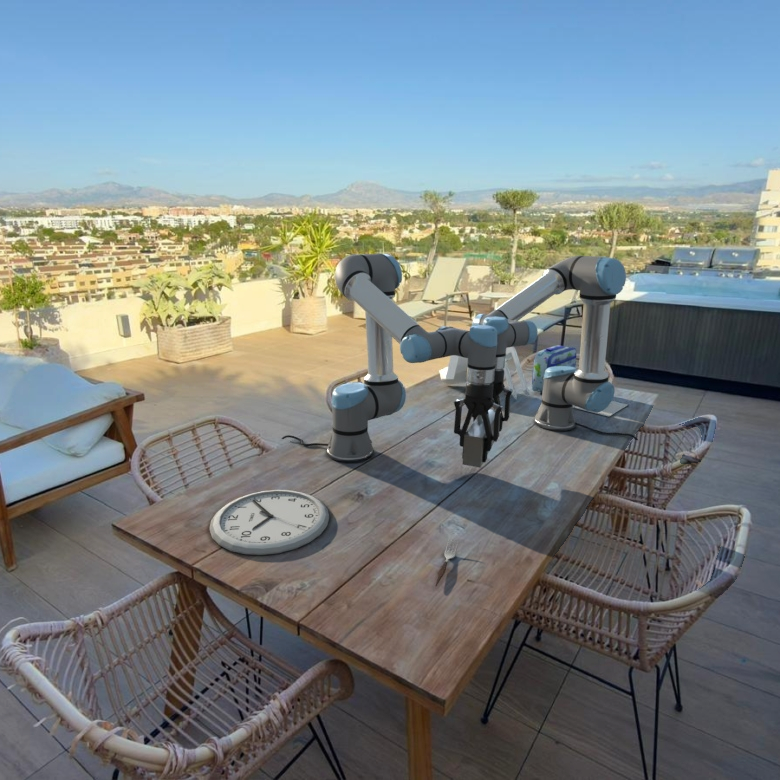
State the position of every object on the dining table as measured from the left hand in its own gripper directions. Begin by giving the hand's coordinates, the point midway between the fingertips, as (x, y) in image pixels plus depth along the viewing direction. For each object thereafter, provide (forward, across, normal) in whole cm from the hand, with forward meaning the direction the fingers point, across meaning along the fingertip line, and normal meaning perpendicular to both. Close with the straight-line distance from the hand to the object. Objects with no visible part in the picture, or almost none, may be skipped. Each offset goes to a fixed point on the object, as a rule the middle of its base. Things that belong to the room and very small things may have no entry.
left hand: (474, 458), depth 152 cm
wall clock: (+9, -44, -39) cm, 59 cm away
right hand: (0, 0, +17) cm, 17 cm away
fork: (+9, +3, -40) cm, 41 cm away
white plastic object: (+9, -18, +93) cm, 95 cm away
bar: (+1, 0, +8) cm, 8 cm away
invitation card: (+9, +34, +94) cm, 101 cm away
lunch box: (+9, +12, +110) cm, 111 cm away
